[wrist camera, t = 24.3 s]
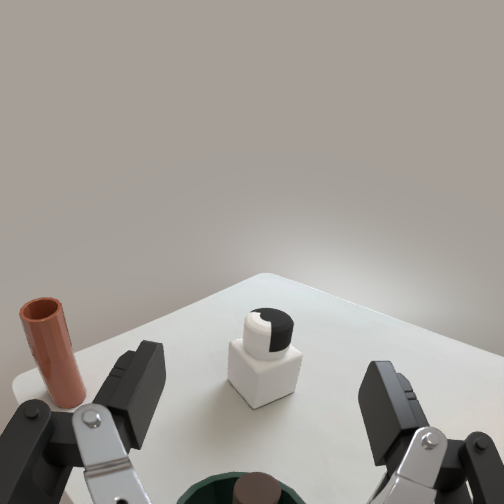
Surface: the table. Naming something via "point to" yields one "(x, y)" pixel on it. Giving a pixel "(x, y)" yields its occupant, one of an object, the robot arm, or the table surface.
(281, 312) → the medicine bottle
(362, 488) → the table surface
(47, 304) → the tube
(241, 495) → the bottle brush
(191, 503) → the teal pencil cup
